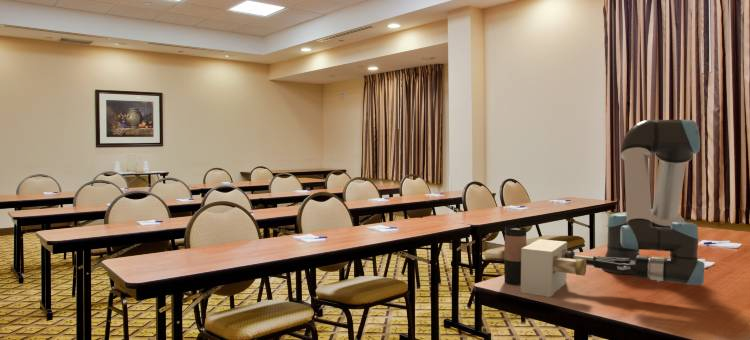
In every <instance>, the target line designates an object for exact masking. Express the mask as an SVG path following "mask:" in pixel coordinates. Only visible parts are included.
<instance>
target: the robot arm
mask: <svg viewBox="0 0 750 340" xmlns="http://www.w3.org/2000/svg"><path fill="white" fill-rule="evenodd" d="M700 149H701V136H700V131H699V126H698V124H697V123H696V121H694V120H693V119H682V118H681V119H645V120H642V121H640V122H637V123H636V124H635V125H633V126H632V127H631V128H630V129H629V130H628V131H627V132H626V134H625V135H624V137H623V140H622V141H621V145H620V158H621V159H622V160H623V163H624V190H625V191H624V192H625V211H623V212H616V213H612V214H610V215H608V220H607V226H606V227H607V246H606V247H607V249H606V252H605V255H604V256H587V255H577V254H575V255H574V257H573V259H583V260H586V266H591V267H592V266H593V267H594V268H598V269H602V270H603V271H606V272H609V273H612V274H613V273H614V274H618V275H620V274H621V275H634V277H635V278H637V279H643V280H648V279H649V280H651V281H656V282H657V283H660V282H661V281H663V282H669V283H676V284H685V285H695V286H701V285H703V284H704V283H705V266H706V265H705V262H703V261H700V260H698V259H699V258H698V246H699V245H698V244H699V238H700V237H699V230H698V229H699V227H698V225H697V224H696V223H694V222H689V221H688V222H687V221H685V219H684V218H683V217H682V215H681V213H679V211H680V210H679V209H680V202H681V198H682V191H683V185H684V180H685V179H684V178H685V172H686V168H687V167H686V166H687V163H688V162H690V161H691V160H692V159H693V155H694V154H695V155H696V154H698V153H700ZM652 154H655V157H656V158H657V159H658V160H659V161H658V166H657V175H656V183H655V190H654V199H653V206H652V204H651V203H652V200H651V185H650V182H651V181H650V168H649V167H650V166H649V159H650V158H651V156H652ZM641 250H642V251H658V252H670V253H669V256H670V257H669V258H668V257H661V256H650V257H649V255H641V254H640V251H641Z"/></svg>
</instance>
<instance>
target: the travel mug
mask: <svg viewBox="0 0 750 340" xmlns="http://www.w3.org/2000/svg"><path fill="white" fill-rule="evenodd" d="M525 246H527V227H520V228H517V227H515V226H506V227H505V228H504V254H503V255H504V257H503V258H504V259H503V260H504V261H503V264H504V265H503V266H504V268H503V269H504V272H503V273H504V275H503V277H504V283H505V284H506V285H509V286H521V248H523V247H525Z"/></svg>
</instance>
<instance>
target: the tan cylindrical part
mask: <svg viewBox="0 0 750 340" xmlns="http://www.w3.org/2000/svg"><path fill="white" fill-rule="evenodd" d="M574 255H576V253H575V251H572V250H567V251H562V258H568V259H573V257H574Z"/></svg>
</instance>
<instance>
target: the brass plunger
mask: <svg viewBox="0 0 750 340" xmlns="http://www.w3.org/2000/svg"><path fill="white" fill-rule="evenodd" d="M553 271H556V272H564V273H566V274H573V275H576V276H583V277H584V276H585V275H586V272H587V265H586V260H583V259H568V258H560V257H553Z"/></svg>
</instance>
